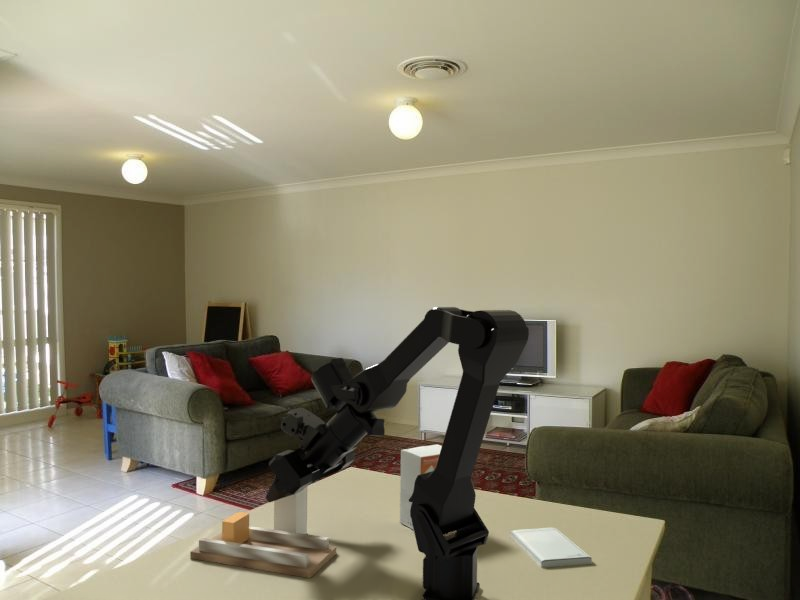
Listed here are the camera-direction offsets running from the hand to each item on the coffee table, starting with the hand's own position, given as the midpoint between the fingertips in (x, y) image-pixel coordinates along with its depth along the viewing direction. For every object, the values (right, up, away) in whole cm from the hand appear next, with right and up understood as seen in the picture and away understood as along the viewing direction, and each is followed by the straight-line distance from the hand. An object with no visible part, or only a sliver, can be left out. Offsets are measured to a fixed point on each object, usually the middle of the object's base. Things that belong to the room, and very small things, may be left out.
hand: (284, 491), depth 105 cm
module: (+1, -7, 0) cm, 7 cm away
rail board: (-1, -7, -9) cm, 11 cm away
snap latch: (-6, -6, -7) cm, 11 cm away
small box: (+24, -8, +6) cm, 26 cm away
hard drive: (+43, -8, -5) cm, 44 cm away
